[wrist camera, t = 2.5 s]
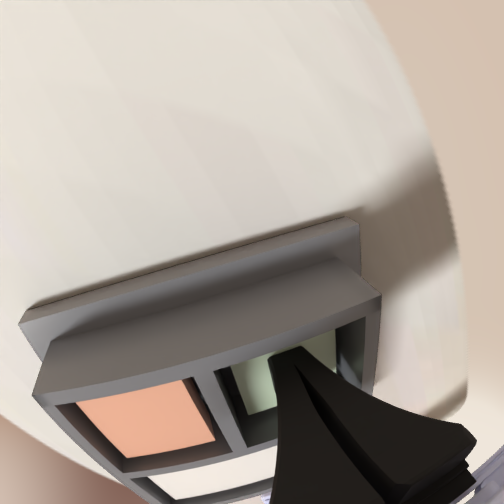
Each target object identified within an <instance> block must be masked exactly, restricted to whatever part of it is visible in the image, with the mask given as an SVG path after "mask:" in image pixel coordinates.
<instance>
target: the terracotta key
mask: <svg viewBox="0 0 504 504" xmlns="http://www.w3.org/2000/svg"><path fill="white" fill-rule="evenodd" d="M76 404H77V405H78V406H79V407H80V408H81V410H82V411H83V412H84V413H85V414H86V415H87V417H88V418H89V419H90V420H91V421H92V422H93V423H94V424H95V426H96V427H97V428H98V429H99V430H100V431H101V432H102V433H103V434H104V435H105V436H106V437H107V439H108V440H109V441H110V442H111V443H112V444H113V445H114V446H115V447H116V448H117V449H118V450H119V451H120V452H121V453H122V454H123V455H124V456H125V457H126V458H130V457H137V456H144V455H150V454H156V453H161V452H167V451H172V450H177V449H181V448H186V447H191V446H195V445H199V444H203V443H207V442H211V441H215V436H214V432H213V428H212V424H211V419H210V415H209V412H208V410H207V409H206V407H205V405H204V403H203V401H202V399H201V397H200V395H199V393H198V391H197V389H196V387H195V385H194V383H193V381H192V379H191V377H189V378H186V379H182V380H178V381H174V382H170V383H166V384H162V385H158V386H154V387H150V388H145V389H141V390H136V391H132V392H127V393H122V394H118V395H113V396H108V397H102V398H97V399H91V400H86V401H80V402H76Z"/></svg>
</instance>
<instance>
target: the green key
mask: <svg viewBox="0 0 504 504" xmlns="http://www.w3.org/2000/svg"><path fill="white" fill-rule="evenodd" d="M298 346H303V347H304V348H305V349H306V350H307V351H309V352H310V353H311V354H312V355H313V356H314V357H315V358H317V359H318V360H319V361H320V362H322V363H323V364H324V365H325V366H327V367H328V368H329V369H331V370H332V371H333V372H335V373H336V339H335V329H333V330H331V331H328V332H326V333H323V334H321V335H318V336H316V337H313V338H310V339H308V340H305V341H302V342H299V343H297V344H294V345H291V346H288V347H286V348H283V349H280V350H277V351H274V352H271V353H268V354H265V355H262V356H259V357H256V358H253V359H250V360H247V361H244V362H241V363H238V364H234V365H231V369H232V372H233V375H234V377H235V380H236V383H237V386H238V388H239V391H240V394H241V397H242V399H243V402H244V405H245V407H246V410H247V413H248V415H251V414H254V413H257V412H260V411H263V410H266V409H269V408H272V407H275V406H277V399H276V393H275V390H274V387H273V382H272V378H271V374H270V370H269V366H268V362H267V359H268V358H269V357H270V356H273V355H276V354H279V353H281V352H284V351H287V350H290V349H293V348H295V347H298Z"/></svg>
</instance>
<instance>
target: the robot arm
mask: <svg viewBox="0 0 504 504" xmlns="http://www.w3.org/2000/svg"><path fill="white" fill-rule="evenodd" d="M267 362H268V366H269V370H270V374H271V378H272V382H273V387H274V390H275V393H276V399H277V414H278V442H277V456H276V466H275V474H274V480H273V486H272V492H269V493H266V494H262V495H261V499H262V501H263V502H264V504H456V503H457V502H459V501H460V500H462V499H463V498H464V497H465V496H467V495H468V494H469V493H470V492H471V491H473V490H474V489H475V488H476V489H475V494H474V496H473V497H472V498H471V499H470V500H469V501H467V502H466V503H465V504H504V445H503V446H502V447H501V448H500V449H499V450H498V451H497V452H496V453H495V454H494V455H493V456H491V457H490V458H489V459H488V460H487V461H486V462H485V463H484V464H482V465H481V466H480V467H479V468H478V469H477V470H476V471H474V472H473V473H472V474H471V473H470V472H469V471H468V470H467V468H468V467H469V465H468V463H467V462H466V461H465V458H466V457H467V456H468V455H469V453H470V452H471V451H472V450H473V448H474V447H475V445H476V442H477V440H476V439H475V437H474V436H473V435H472V434H471V433H470V432H469V431H468V430H467V429H466V428H465V427H464V426H463V425H462V424H458V423H452V422H446V421H441V420H437V419H432V418H429V417H425V416H421V415H418V414H415V413H412V412H409V411H406V410H403V409H401V408H398V407H395V406H393V405H391V404H388V403H386V402H384V401H382V400H380V399H378V398H375V397H373V396H372V395H370V394H368V393H366V392H364V391H362V390H361V389H359V388H357V387H356V386H354V385H352V384H351V383H349V382H348V381H346V380H345V379H343V378H342V377H340V376H339V375H338V374H336V373H335V372H333V371H332V370H331V369H329V368H328V367H327V366H325V365H324V364H323V363H322V362H320V361H319V360H318V359H317V358H315V357H314V356H313V355H312V354H311V353H310V352H309V351H307V350H306V349H305V348H304V347H303V346H298V347H295V348H293V349H290V350H287V351H284V352H281V353H279V354H276V355H273V356H270V357H269V358H268V359H267Z"/></svg>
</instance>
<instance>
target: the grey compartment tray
mask: <svg viewBox="0 0 504 504" xmlns="http://www.w3.org/2000/svg"><path fill="white" fill-rule="evenodd" d="M381 299H382V294H380V293H379V292H378V291H377V290H376V289H375V288H373V287H372V286H371V285H370V284H369V283H368V282H366V281H365V280H364V279H363V278H362V277H361V252H360V229H359V223H357V222H355V221H353V220H352V219H350V218H348V217H342V218H339V219H335V220H332V221H328V222H325V223H321V224H318V225H314V226H311V227H307V228H304V229H300V230H297V231H293V232H290V233H286V234H283V235H279V236H276V237H272V238H269V239H266V240H262V241H259V242H255V243H252V244H248V245H245V246H241V247H238V248H235V249H231V250H228V251H224V252H221V253H217V254H214V255H211V256H207V257H204V258H200V259H197V260H194V261H190V262H187V263H183V264H180V265H177V266H173V267H170V268H166V269H163V270H160V271H156V272H153V273H150V274H146V275H143V276H140V277H136V278H133V279H130V280H126V281H123V282H119V283H116V284H113V285H109V286H106V287H103V288H100V289H96V290H93V291H90V292H86V293H83V294H80V295H76V296H73V297H70V298H67V299H63V300H60V301H57V302H53V303H50V304H47V305H44V306H40V307H37V308H34V309H31V310H27V311H25V313H24V315H23V316H22V318H21V320H20V322H19V323H18V326H19V327H20V329H21V331H22V332H23V334H24V335H25V337H26V339H27V340H28V342H29V343H30V345H31V346H32V348H33V350H34V351H35V353H36V354H37V356H38V357H39V358H40V360H41V361H42V366H41V369H40V371H39V374H38V377H37V380H36V383H35V386H34V390H33V393H32V396H33V398H34V399H35V400H36V401H37V402H38V404H39V405H40V406H41V407H42V408H43V409H44V410H45V412H46V413H47V414H48V415H49V416H50V417H51V418H52V419H53V420H54V421H55V422H56V424H57V425H58V426H59V427H60V428H61V429H62V430H63V431H64V432H65V433H66V434H67V435H68V436H69V437H70V438H71V439H72V440H73V441H74V442H75V443H76V444H77V445H78V446H79V447H80V448H82V449H83V450H84V451H85V452H86V453H87V454H88V455H89V456H90V457H91V458H92V459H94V460H95V461H96V462H97V463H98V464H99V465H100V466H102V467H103V468H104V469H105V470H106V471H108V472H109V473H110V474H111V475H112V476H114V477H115V478H116V479H117V480H119V481H120V482H121V483H123V484H124V485H125V486H126V487H128V488H129V489H130V490H132V491H133V492H135V493H136V494H137V495H139V496H140V497H141V498H143V499H144V500H146V501H147V502H149V503H150V504H228V503H232V502H236V501H240V500H244V499H248V498H252V497H255V496H259V495H262V494H266V493H269V492H272V486H273V480H274V476H273V477H270V478H267V479H264V480H260V481H257V482H254V483H250V484H247V485H243V486H239V487H235V488H231V489H227V490H223V491H219V492H214V493H210V494H205V495H200V496H195V497H189V498H183V499H177V500H175V499H174V498H173V497H171V496H170V495H169V494H168V493H166V492H165V491H164V490H163V489H161V488H160V487H159V486H158V485H157V484H155V483H154V482H153V481H152V480H151V479H150V478H148V477H147V476H154V475H161V474H167V473H172V472H178V471H183V470H188V469H193V468H198V467H202V466H207V465H211V464H215V463H219V462H223V461H227V460H231V459H234V458H238V457H242V456H245V455H248V454H252V453H255V452H258V451H261V450H265V449H268V448H271V447H274V446H277V442H278V414H277V406H275V407H272V408H269V409H266V410H263V411H260V412H257V413H254V414H251V415H248V413H247V410H246V407H245V405H244V402H243V399H242V397H241V394H240V391H239V388H238V386H237V383H236V380H235V377H234V375H233V372H232V369H231V365H234V364H238V363H241V362H244V361H247V360H250V359H253V358H256V357H259V356H262V355H265V354H268V353H271V352H274V351H277V350H280V349H283V348H286V347H288V346H291V345H294V344H297V343H299V342H302V341H305V340H308V339H310V338H313V337H316V336H318V335H321V334H323V333H326V332H328V331H331V330H333V329H335V339H336V374H338V375H339V376H340V377H342V378H343V379H345V380H346V381H348V382H349V383H351V384H352V385H354V386H356V387H357V388H359V389H361V390H362V391H364V392H366V393H368V394H370V395H372V393H373V386H374V378H375V370H376V362H377V352H378V342H379V330H380V316H381ZM189 377H191V379H192V381H193V383H194V385H195V387H196V389H197V391H198V393H199V395H200V397H201V399H202V401H203V403H204V405H205V407H206V409H207V410H208V412H209V415H210V419H211V424H212V428H213V432H214V436H215V441H211V442H207V443H203V444H199V445H195V446H191V447H186V448H181V449H177V450H172V451H167V452H161V453H156V454H150V455H144V456H137V457H130V458H126V457H125V456H124V455H123V454H122V453H121V452H120V451H119V450H118V449H117V448H116V447H115V446H114V445H113V444H112V443H111V442H110V441H109V440H108V439H107V437H106V436H105V435H104V434H103V433H102V432H101V431H100V430H99V429H98V428H97V427H96V426H95V424H94V423H93V422H92V421H91V420H90V419H89V418H88V417H87V415H86V414H85V413H84V412H83V411H82V410H81V408H80V407H79V406H78V405H77V404H76V402H80V401H86V400H91V399H97V398H102V397H108V396H113V395H118V394H122V393H127V392H132V391H136V390H141V389H145V388H150V387H154V386H158V385H162V384H166V383H170V382H174V381H178V380H182V379H186V378H189Z"/></svg>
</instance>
